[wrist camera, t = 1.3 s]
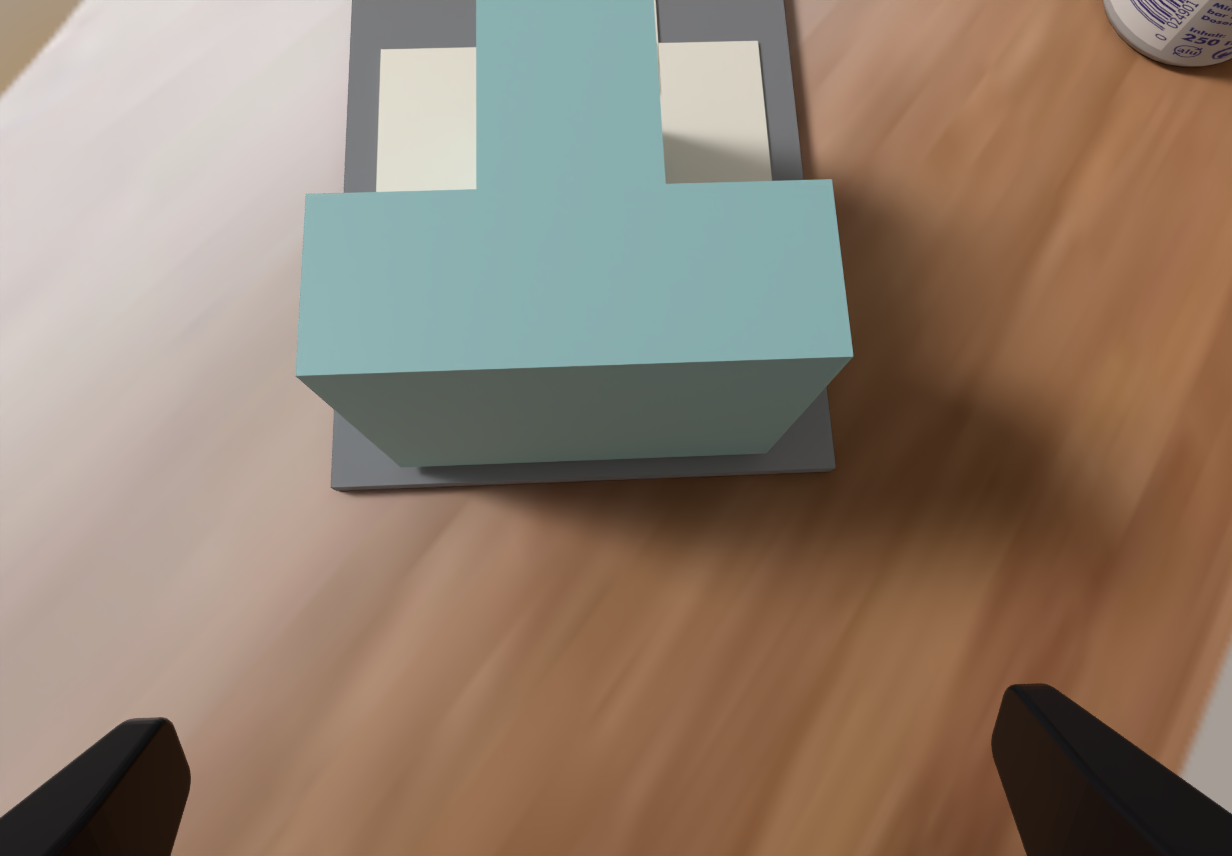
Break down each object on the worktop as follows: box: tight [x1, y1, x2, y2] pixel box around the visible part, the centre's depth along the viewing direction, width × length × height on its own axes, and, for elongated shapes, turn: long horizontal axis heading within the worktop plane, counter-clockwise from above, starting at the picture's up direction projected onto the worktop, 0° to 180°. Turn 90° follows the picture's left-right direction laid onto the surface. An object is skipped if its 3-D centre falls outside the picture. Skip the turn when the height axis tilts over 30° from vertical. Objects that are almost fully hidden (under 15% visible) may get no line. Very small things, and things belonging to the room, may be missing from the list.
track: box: [331, 0, 836, 491], centre depth 24 cm, size 22×14×4 cm, turn 2°
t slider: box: [296, 0, 853, 467], centre depth 20 cm, size 11×10×8 cm
